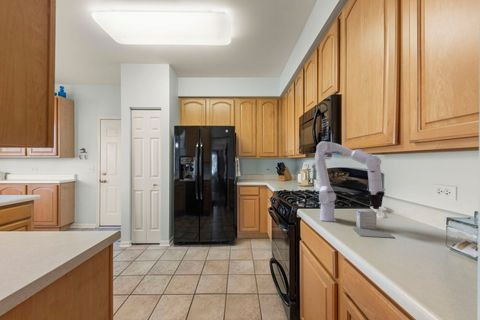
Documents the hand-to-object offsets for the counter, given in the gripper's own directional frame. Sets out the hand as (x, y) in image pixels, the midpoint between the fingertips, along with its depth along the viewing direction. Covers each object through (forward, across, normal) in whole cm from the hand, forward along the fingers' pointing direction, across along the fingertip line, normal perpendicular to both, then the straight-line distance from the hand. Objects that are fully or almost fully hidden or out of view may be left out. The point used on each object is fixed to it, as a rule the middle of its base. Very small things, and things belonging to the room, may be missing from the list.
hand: (377, 207), depth 115 cm
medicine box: (+10, -2, +6) cm, 12 cm away
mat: (+10, -9, +2) cm, 14 cm away
